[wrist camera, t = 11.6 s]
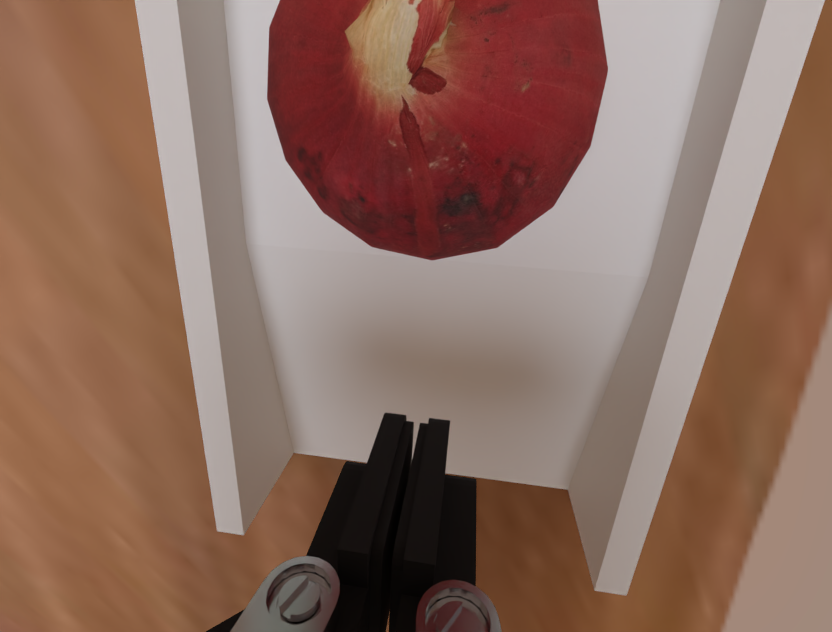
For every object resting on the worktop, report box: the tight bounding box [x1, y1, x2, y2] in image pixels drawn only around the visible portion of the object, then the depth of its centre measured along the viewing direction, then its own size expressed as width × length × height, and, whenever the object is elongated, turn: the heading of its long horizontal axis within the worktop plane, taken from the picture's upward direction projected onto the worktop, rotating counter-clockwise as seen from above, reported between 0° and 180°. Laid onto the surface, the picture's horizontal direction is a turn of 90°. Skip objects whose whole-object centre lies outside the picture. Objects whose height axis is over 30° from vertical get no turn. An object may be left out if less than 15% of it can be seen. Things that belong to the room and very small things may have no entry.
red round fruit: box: [267, 0, 608, 260], centre depth 8 cm, size 6×6×8 cm
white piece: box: [135, 0, 825, 596], centre depth 14 cm, size 18×14×6 cm
